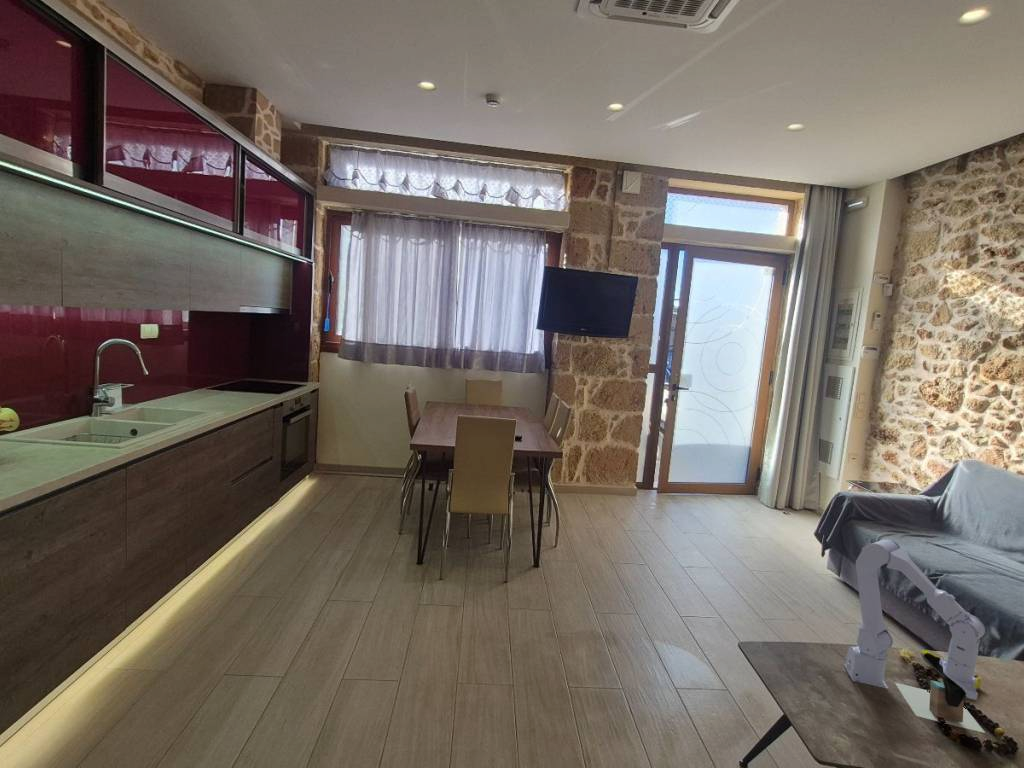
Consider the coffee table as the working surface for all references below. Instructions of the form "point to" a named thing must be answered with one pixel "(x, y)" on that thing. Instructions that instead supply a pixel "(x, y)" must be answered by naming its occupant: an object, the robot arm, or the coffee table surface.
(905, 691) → the sage mat
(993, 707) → the coffee table surface
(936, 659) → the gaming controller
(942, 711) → the walnut block
